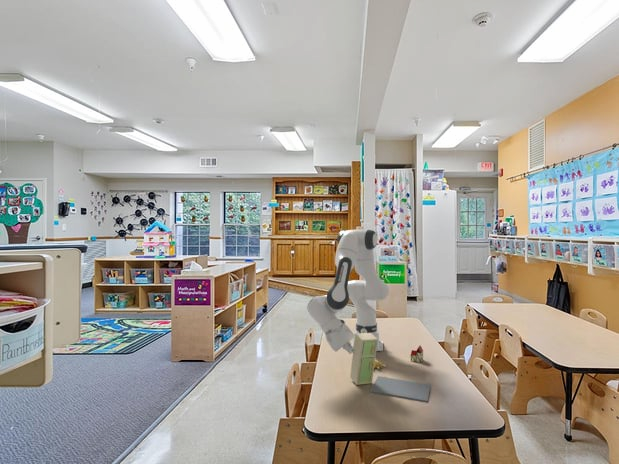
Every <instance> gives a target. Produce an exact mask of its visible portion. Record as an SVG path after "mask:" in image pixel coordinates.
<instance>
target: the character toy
mask: <svg viewBox="0 0 619 464" xmlns="http://www.w3.org/2000/svg"><path fill="white" fill-rule="evenodd" d="M380 367H385V368H386V367H387V365H386V364H383V363H381V362H379V361H378V359H376V358H375V363H374V369H375V368H377V369H380Z"/></svg>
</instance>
